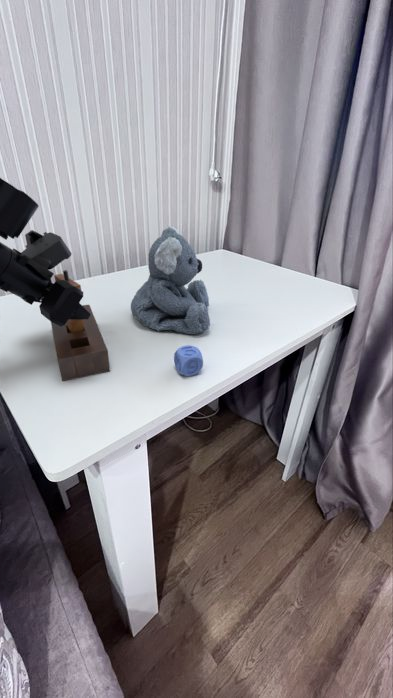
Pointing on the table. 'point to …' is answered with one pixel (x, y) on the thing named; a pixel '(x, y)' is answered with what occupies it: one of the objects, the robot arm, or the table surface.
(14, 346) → the table surface
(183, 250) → the koala plush
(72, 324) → the brown beam with peg
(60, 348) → the rack
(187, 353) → the decorative dice
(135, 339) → the table surface
